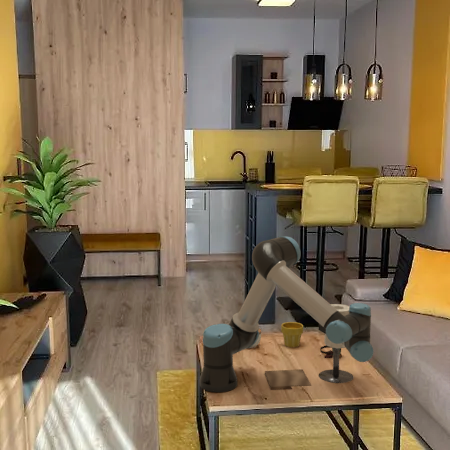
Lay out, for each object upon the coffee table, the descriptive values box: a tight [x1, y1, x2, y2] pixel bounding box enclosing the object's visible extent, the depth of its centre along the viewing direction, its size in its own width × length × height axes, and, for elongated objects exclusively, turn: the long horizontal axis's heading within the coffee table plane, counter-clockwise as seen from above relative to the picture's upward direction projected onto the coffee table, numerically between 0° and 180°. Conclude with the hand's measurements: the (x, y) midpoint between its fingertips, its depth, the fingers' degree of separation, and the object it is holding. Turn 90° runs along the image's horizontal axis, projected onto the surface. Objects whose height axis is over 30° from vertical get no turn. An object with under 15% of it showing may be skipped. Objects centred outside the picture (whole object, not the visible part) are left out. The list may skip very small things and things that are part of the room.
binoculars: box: [319, 345, 343, 360], centre depth 261 cm, size 9×11×10 cm
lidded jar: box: [248, 328, 262, 349], centre depth 277 cm, size 11×11×9 cm
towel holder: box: [318, 348, 354, 384], centre depth 238 cm, size 14×14×13 cm
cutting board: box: [264, 368, 312, 391], centre depth 237 cm, size 16×16×1 cm
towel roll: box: [323, 303, 350, 349], centre depth 236 cm, size 10×10×15 cm
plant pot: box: [280, 321, 304, 348], centre depth 278 cm, size 10×10×10 cm
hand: (335, 320), depth 240 cm, fingers closed on towel roll, 10 cm apart
